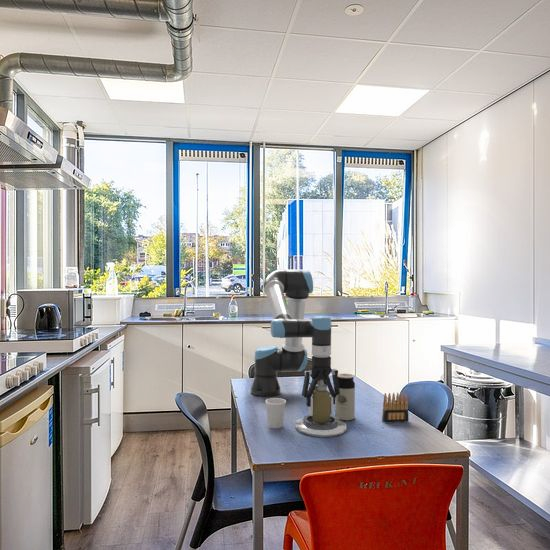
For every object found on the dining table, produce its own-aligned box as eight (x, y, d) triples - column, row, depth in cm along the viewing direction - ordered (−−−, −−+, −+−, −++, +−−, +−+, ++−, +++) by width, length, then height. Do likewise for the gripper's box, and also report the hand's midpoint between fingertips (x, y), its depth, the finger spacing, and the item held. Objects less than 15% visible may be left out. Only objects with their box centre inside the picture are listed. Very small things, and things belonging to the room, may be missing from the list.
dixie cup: (262, 423, 176) (262, 398, 177) (281, 421, 179) (281, 397, 179) (269, 430, 169) (269, 404, 169) (289, 428, 172) (289, 402, 172)
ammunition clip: (406, 420, 182) (407, 391, 182) (408, 422, 180) (408, 392, 181) (382, 421, 181) (382, 392, 181) (383, 422, 179) (383, 393, 179)
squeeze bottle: (317, 426, 167) (318, 379, 167) (306, 420, 174) (307, 374, 174) (335, 423, 170) (335, 377, 170) (323, 417, 177) (324, 373, 178)
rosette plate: (288, 422, 178) (288, 413, 178) (333, 418, 184) (333, 409, 184) (306, 439, 159) (306, 429, 159) (355, 434, 165) (355, 425, 165)
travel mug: (343, 413, 191) (343, 372, 191) (358, 418, 185) (358, 375, 185) (331, 417, 185) (332, 375, 185) (347, 422, 179) (347, 378, 179)
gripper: (300, 358, 165) (299, 418, 165) (349, 356, 172) (349, 414, 172) (293, 355, 173) (292, 413, 173) (341, 353, 179) (340, 408, 179)
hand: (320, 413), depth 172 cm, fingers closed on squeeze bottle, 8 cm apart
